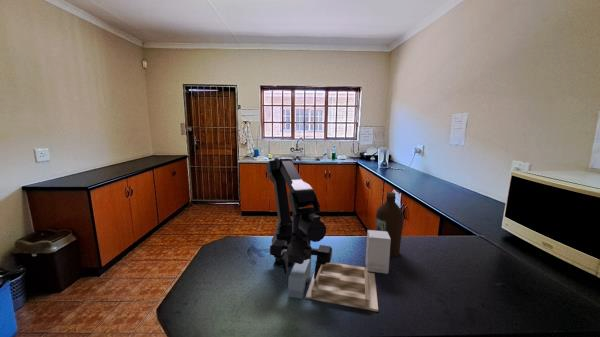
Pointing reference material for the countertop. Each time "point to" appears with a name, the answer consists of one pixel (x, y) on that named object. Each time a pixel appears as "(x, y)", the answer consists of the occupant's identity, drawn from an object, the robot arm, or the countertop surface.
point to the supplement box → (378, 251)
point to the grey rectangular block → (299, 279)
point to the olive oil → (391, 222)
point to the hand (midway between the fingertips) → (300, 276)
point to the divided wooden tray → (344, 286)
